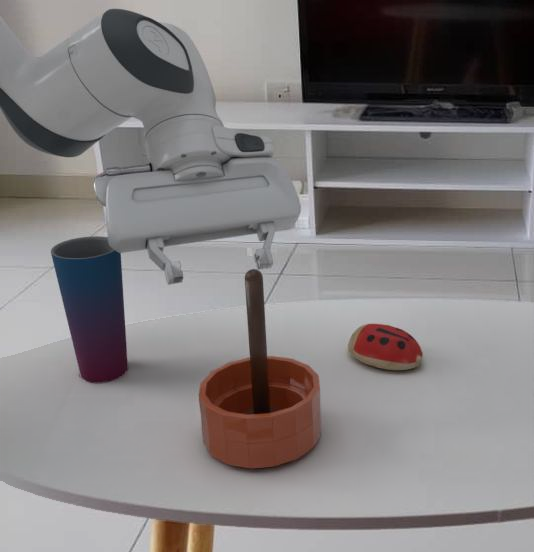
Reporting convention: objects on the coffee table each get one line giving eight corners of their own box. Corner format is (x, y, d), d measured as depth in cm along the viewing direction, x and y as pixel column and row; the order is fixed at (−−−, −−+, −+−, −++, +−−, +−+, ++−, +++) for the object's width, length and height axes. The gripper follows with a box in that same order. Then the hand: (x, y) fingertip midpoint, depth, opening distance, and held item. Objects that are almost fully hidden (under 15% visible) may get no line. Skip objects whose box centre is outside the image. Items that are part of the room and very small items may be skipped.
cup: (143, 376, 84) (128, 250, 78) (80, 393, 80) (58, 263, 74) (126, 351, 89) (110, 232, 83) (65, 366, 85) (44, 243, 80)
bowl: (199, 478, 68) (193, 421, 65) (209, 410, 78) (204, 359, 75) (323, 468, 69) (322, 413, 67) (317, 403, 79) (316, 353, 77)
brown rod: (239, 447, 71) (226, 280, 64) (241, 421, 75) (229, 261, 68) (286, 444, 72) (278, 278, 65) (285, 418, 76) (278, 259, 69)
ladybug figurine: (365, 337, 94) (366, 311, 92) (435, 357, 89) (437, 330, 88) (335, 359, 88) (334, 332, 87) (408, 382, 84) (408, 354, 82)
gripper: (89, 153, 75) (117, 278, 70) (285, 136, 84) (319, 246, 79) (90, 185, 80) (115, 303, 76) (273, 166, 89) (305, 271, 85)
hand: (221, 274), depth 78 cm, fingers open, 8 cm apart
